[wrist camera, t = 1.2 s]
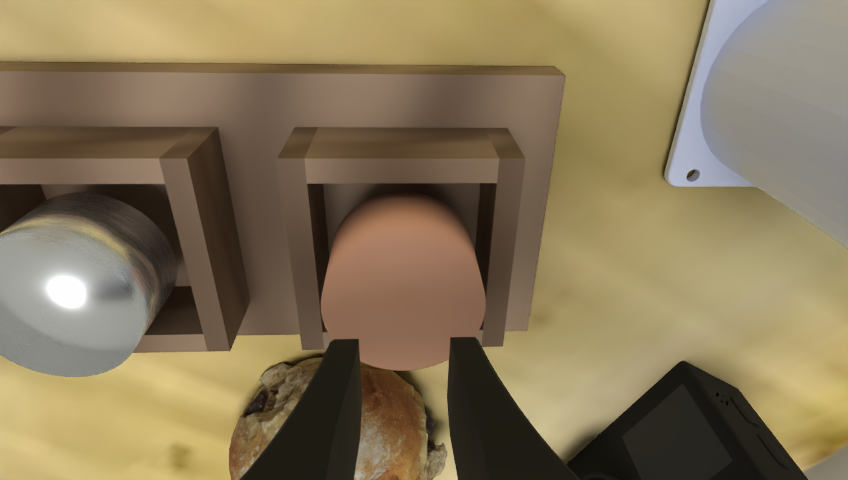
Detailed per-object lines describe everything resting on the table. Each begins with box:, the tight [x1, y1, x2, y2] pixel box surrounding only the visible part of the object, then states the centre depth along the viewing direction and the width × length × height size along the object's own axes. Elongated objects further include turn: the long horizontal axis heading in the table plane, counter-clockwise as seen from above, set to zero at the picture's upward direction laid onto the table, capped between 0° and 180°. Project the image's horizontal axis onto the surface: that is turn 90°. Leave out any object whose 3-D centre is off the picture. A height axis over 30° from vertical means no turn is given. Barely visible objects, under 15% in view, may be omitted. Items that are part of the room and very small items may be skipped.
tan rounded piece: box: [321, 191, 486, 371], centre depth 16 cm, size 5×5×3 cm
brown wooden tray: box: [0, 62, 565, 353], centre depth 19 cm, size 21×11×4 cm, turn 89°
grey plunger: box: [0, 192, 178, 377], centre depth 16 cm, size 5×5×3 cm
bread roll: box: [229, 357, 447, 480], centre depth 25 cm, size 10×10×8 cm
